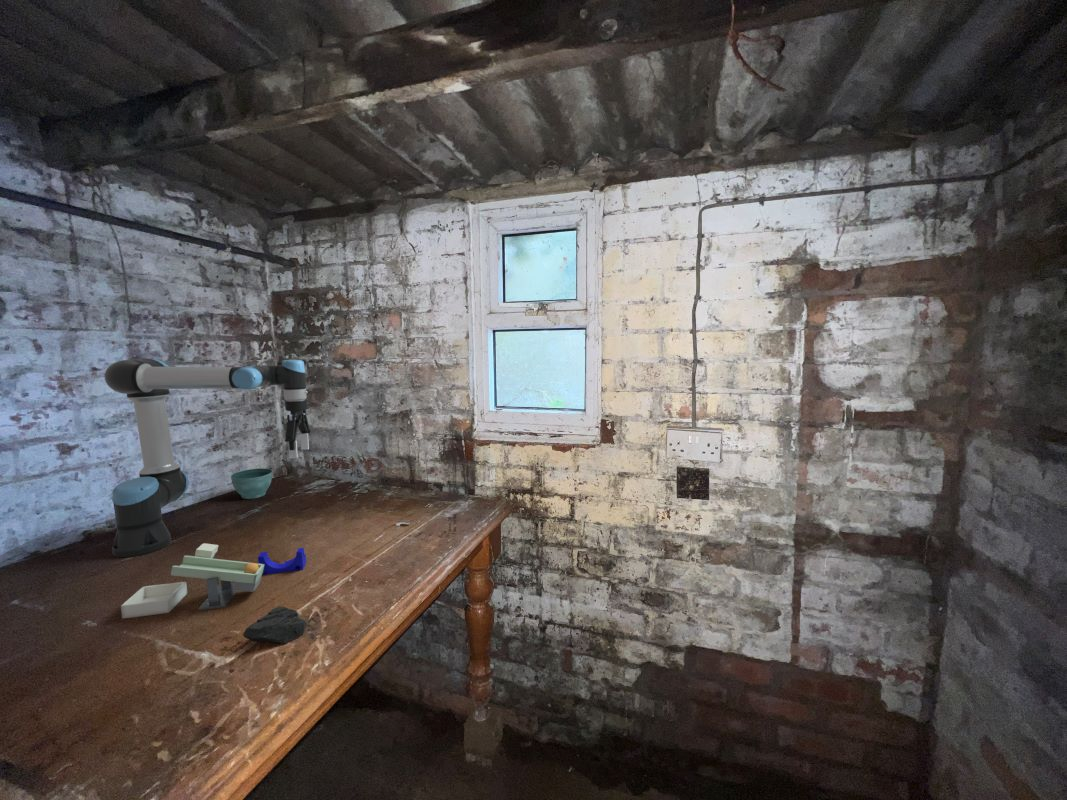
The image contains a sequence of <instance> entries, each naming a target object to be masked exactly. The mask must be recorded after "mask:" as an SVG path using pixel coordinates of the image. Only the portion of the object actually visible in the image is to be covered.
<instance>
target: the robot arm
mask: <svg viewBox="0 0 1067 800" xmlns="http://www.w3.org/2000/svg"><path fill="white" fill-rule="evenodd" d="M104 381H105V384H106V385H107V386H108V387H109V388H110V389H111V390H113V391H114V392H117V393H120V394H124V395H126V398H127V399H129V400H130V401H131V402H132V403H133V405H134V412H135V418H136V424H137V425H136V426H137V432H138V438H139V444H140V445H139V446H140V451H141V458H142V463H143V467H142V468H141V469H140V470H139V472H138V474H139V475H138V476H139V477H135V478H131V479H130V480H124V481H122V482H120V483H118V484H116V486H115V487H113V489H112V496H111V497H112V498H111V500H112V503H113V510H114V517H115V525H116V533H115V537H114V540H113V544H112V546H111V550H112V556H114V557H117V558H129V557H136V556H141V555H145V554H150V553H152V552H155V551H157V550H160V549H163V548H165V547H166V546H168V545H170V543H171V542H172V536H171V532H170V531H169V530H168V528H167V526H166V525H165V522H164V521H163V515H162V508H164V507H165V506H167V505H169V504H171V503H172V502H175V501H177V500H179V498H181V496H183V495H185V494H186V492H187V490H188V488H189V486H190V479H189V477H188V475H187V473H185V472H183V471H184V470H181V465H180V464H178V463H177V462H175V459H174V457H175V456H174V453H173V452H174V451H173V445H172V438H171V433H170V424H169V417H168V412H167V403H166V399H167V398H168V397H170V395H171V394H170V390H193V389H194V390H196V389H199V390H200V389H201V390H203V389H204V390H205V389H208V390H209V389H211V390H212V389H213V390H214V389H240V390H248V391H249V390H253V389H256V388H260V387H265V386H274V385H275V386H277V385H278V386H282V385H283V396H284V397H283V398H284V400H285V401H284V408H285V411H287V412H290V414H287V417H286V420H287V421H286V431H285V439H284V441H285V442H287V444H288V447H287V448H288V458H289V459H298V440H297V435H298V430H299V431H300V436H299V437H300V450H302V451H304V450H305V451H306V450H310V444H309V441H310V440H309V434H310V433H311V428H310V425H309V420H308V418H307V412H306V411H307V410H308V400H307V397H308V396H307V394H308V391H307V385H306V384H307V382H306V369H305V362H304V361H303V360H301V359H283V360H282V361H281V364H278V365H268V364H267V365H266V364H265V365H263V364H262V365H261V364H256V365H249V366H169V365H168V364H167V363H166V362H164V361H162V360H159V359H154V358H140V359H124V360H118V361H115V362H113V363H111V365H109V366H108V367H107V368H106V369H105V371H104Z"/></svg>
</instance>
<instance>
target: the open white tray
mask: <svg viewBox="0 0 1067 800" xmlns="http://www.w3.org/2000/svg"><path fill="white" fill-rule="evenodd" d="M187 594H188V587H187V581H180V582H179V581H177V582H172V583H170V582H169V583H162V584H153V585H147V586H146V585H145V586H142V587H141V588H140V589H138V590H137V591H136V592H134V594H133V595H132V596H131V597H129V598H128V599H126V601H124V602H123V603H122V604H121V605H120V612H121V619H123V620H124V619H130V618H139V617H145V616H152V615H153V616H154V615H162V614H168V613H170V612H171V611H172V610H173V609H174V608H175V607H176V606H177V605H178V604H179V603H180V602H181V601H182V600H183V598H185V597H186V595H187Z"/></svg>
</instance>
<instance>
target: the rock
mask: <svg viewBox="0 0 1067 800" xmlns="http://www.w3.org/2000/svg"><path fill="white" fill-rule="evenodd" d="M307 625H308V624H307V621H306V620H305V619H302V618H299V613H298V611H297V610H295V609H293V608H288V607H286V606H278V607H275V608H272V609H271V610H269V611H268V612H267V614H265V615H262V616H261V617H259V618H258V619H257V620H256V621H255V622H253V623H251V624H250V625H249V626H248V627H246V628H245V630H244V632H243V633H242V636H243V638H245V639H247V640H249V641H251V642H255V643H266V642H267V643H268V642H269V643H278V644H279V643H280V644H282V643H283V644H288V643H289V642H292V641H293V640H295V639H298V638H300V637H301V636H302V635H304V634H305V633H304V632H305V628H306V627H308V626H307Z"/></svg>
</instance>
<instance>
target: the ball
mask: <svg viewBox="0 0 1067 800" xmlns="http://www.w3.org/2000/svg"><path fill="white" fill-rule="evenodd" d="M249 563H250V564H248V565H246V567H245V568H244V573H250V574H255V573H256V572H257V571H258V569H259V567H258V565H257V564H258V563H257V562H256V563H257V564H256V563H255V562H249Z"/></svg>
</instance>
